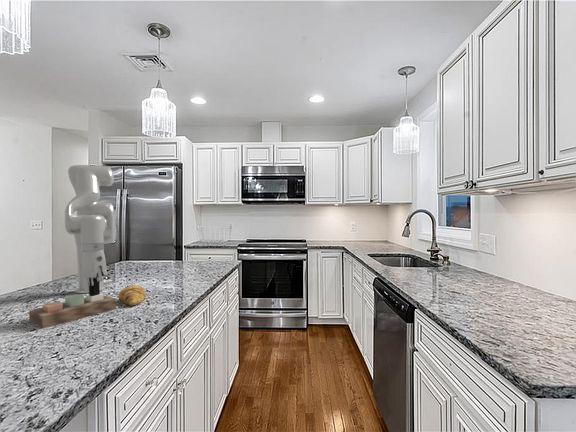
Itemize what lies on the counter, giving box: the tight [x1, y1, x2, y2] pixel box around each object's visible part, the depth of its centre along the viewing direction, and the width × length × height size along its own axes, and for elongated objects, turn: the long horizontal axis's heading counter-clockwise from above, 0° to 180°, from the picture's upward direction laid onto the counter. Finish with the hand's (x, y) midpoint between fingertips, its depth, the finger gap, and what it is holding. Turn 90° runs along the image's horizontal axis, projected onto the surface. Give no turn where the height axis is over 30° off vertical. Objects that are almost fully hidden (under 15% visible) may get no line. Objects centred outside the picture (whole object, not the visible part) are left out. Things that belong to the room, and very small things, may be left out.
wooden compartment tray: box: [28, 295, 117, 329], centre depth 121 cm, size 24×12×4 cm, turn 145°
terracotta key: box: [42, 301, 63, 313], centre depth 115 cm, size 4×4×4 cm
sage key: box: [64, 293, 85, 307], centre depth 121 cm, size 4×4×4 cm
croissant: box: [117, 283, 146, 306], centre depth 138 cm, size 21×10×8 cm, turn 28°
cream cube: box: [85, 293, 105, 302], centre depth 127 cm, size 4×4×4 cm
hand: (94, 295), depth 126 cm, fingers closed
